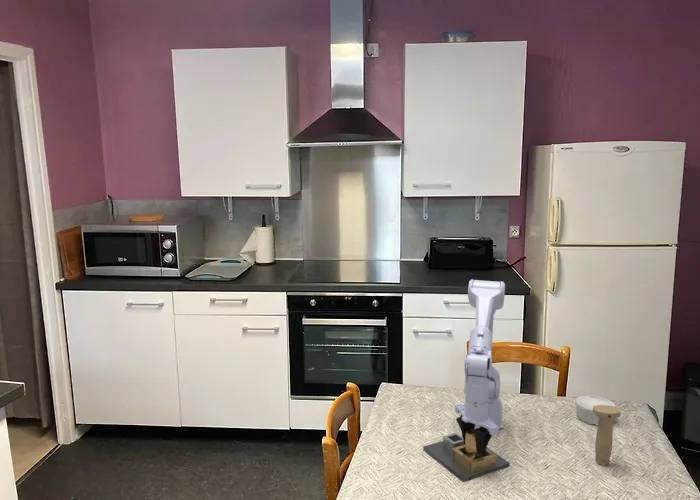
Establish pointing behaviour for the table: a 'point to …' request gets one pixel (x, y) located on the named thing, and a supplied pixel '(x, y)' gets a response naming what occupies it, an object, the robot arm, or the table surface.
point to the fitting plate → (463, 458)
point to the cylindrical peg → (471, 445)
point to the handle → (604, 432)
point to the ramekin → (590, 407)
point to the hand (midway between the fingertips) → (474, 448)
